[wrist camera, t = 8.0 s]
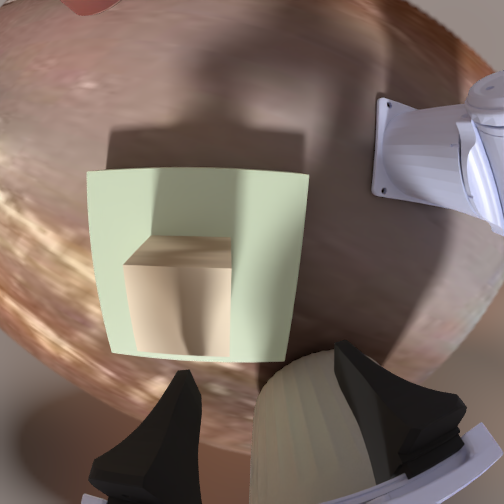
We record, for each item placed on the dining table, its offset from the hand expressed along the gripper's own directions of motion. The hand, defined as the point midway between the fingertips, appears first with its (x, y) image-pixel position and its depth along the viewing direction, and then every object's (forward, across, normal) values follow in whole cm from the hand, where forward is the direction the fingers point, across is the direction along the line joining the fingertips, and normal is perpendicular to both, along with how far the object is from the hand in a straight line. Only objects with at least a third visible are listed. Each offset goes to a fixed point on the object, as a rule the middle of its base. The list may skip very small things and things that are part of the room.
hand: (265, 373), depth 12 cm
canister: (+10, -5, +14) cm, 17 cm away
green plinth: (+9, +4, -3) cm, 10 cm away
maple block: (+6, +4, -3) cm, 8 cm away
